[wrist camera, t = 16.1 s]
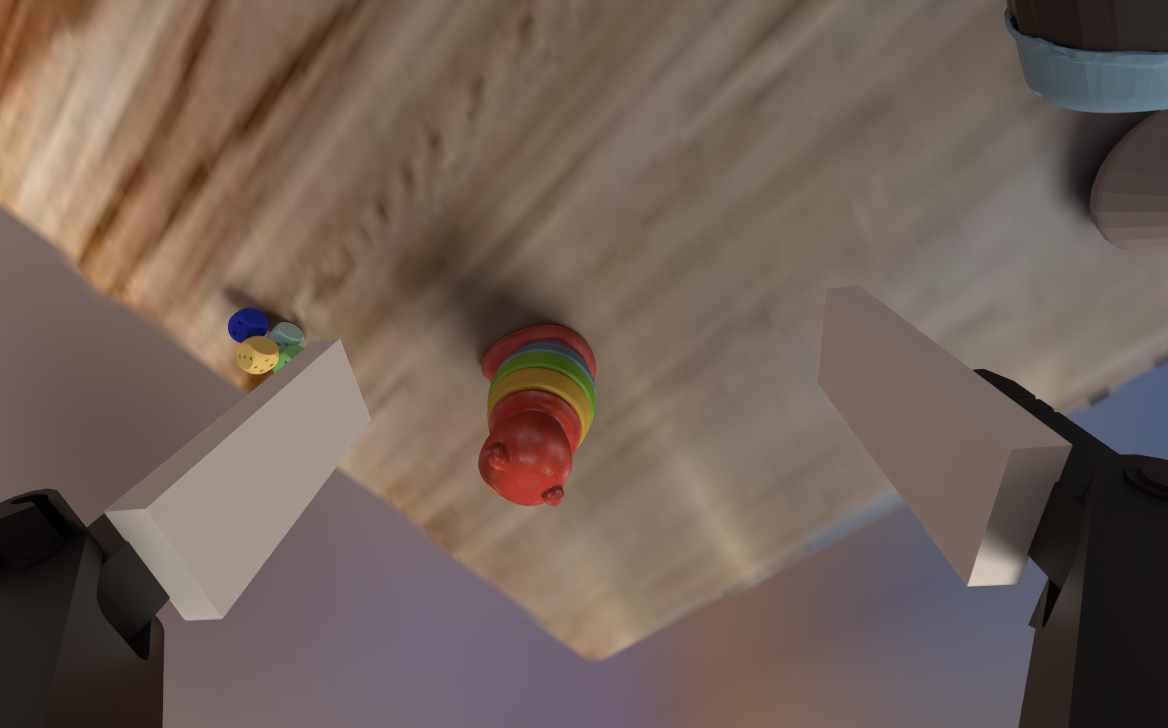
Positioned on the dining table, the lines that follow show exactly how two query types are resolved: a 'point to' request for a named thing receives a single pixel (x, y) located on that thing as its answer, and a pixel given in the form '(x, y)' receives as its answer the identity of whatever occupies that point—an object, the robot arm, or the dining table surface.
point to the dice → (263, 341)
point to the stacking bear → (536, 412)
